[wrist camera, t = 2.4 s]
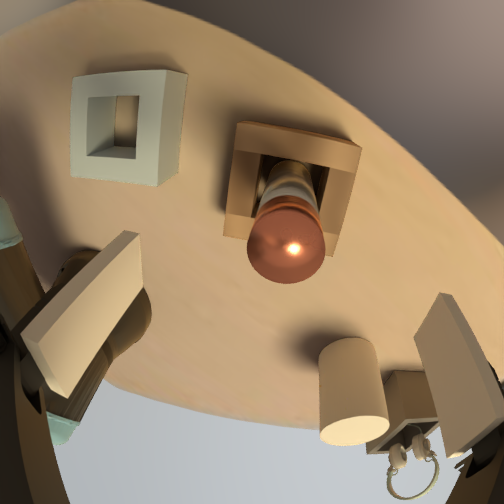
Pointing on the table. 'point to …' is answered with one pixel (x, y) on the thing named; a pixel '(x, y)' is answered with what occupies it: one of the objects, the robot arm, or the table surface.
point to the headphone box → (406, 411)
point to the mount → (297, 148)
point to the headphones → (400, 459)
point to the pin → (287, 227)
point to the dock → (148, 126)
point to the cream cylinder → (351, 393)
